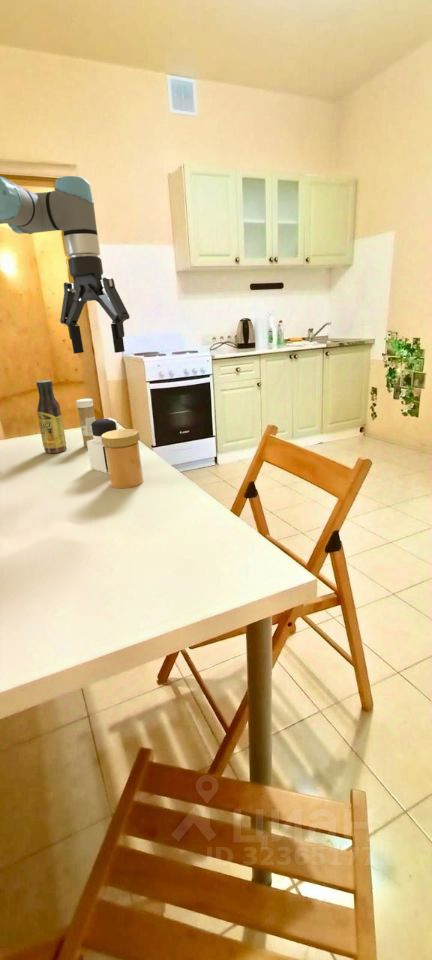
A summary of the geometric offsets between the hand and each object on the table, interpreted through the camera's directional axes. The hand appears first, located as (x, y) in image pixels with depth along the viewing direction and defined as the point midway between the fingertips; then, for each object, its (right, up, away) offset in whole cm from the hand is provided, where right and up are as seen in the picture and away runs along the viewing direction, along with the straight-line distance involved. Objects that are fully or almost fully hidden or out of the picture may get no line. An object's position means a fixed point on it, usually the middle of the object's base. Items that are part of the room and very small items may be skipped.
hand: (98, 352), depth 111 cm
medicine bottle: (+3, -29, 0) cm, 29 cm away
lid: (+8, -22, -15) cm, 28 cm away
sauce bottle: (-17, -23, +17) cm, 34 cm away
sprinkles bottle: (-8, -21, +21) cm, 31 cm away
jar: (+9, -32, -11) cm, 35 cm away
